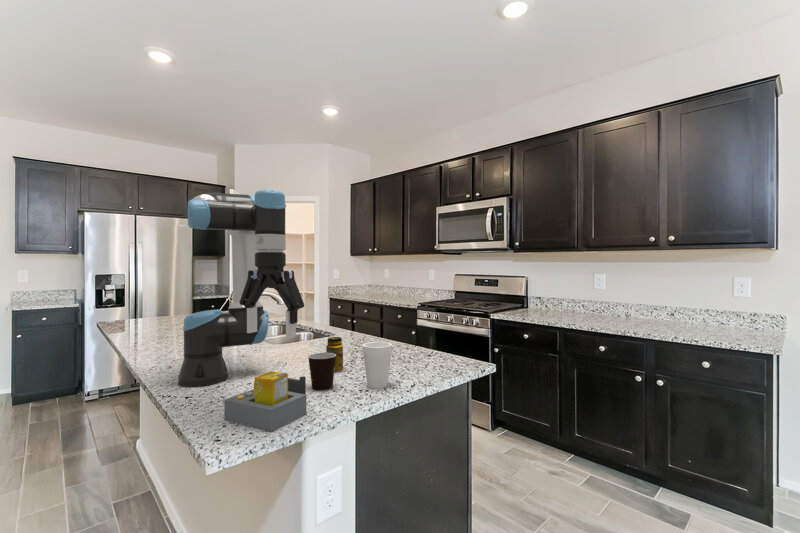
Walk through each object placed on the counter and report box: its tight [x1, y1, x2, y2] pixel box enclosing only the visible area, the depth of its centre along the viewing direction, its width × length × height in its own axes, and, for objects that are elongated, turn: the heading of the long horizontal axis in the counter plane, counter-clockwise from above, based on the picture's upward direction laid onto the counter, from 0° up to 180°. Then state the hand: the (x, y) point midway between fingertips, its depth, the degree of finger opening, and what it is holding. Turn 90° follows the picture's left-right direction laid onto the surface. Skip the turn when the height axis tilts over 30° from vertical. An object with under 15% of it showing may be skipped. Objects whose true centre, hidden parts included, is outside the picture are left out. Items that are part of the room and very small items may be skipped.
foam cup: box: [361, 341, 393, 389], centre depth 124 cm, size 10×9×13 cm
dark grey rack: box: [253, 375, 307, 395], centre depth 114 cm, size 10×10×5 cm
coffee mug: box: [307, 352, 336, 392], centre depth 124 cm, size 12×9×10 cm
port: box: [223, 388, 308, 432], centre depth 99 cm, size 16×12×6 cm
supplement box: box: [253, 370, 289, 406], centre depth 98 cm, size 6×6×11 cm
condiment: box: [325, 336, 348, 374], centre depth 142 cm, size 7×8×12 cm
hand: (270, 334), depth 100 cm, fingers open, 13 cm apart
